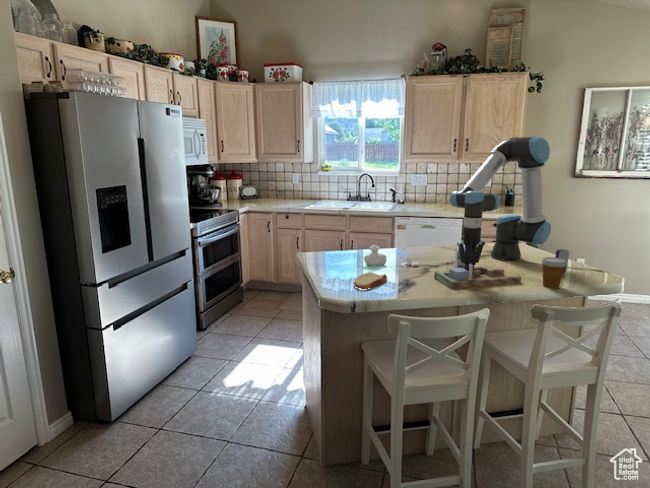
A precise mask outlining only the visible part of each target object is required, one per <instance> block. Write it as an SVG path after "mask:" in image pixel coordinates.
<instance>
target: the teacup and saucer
mask: <svg viewBox="0 0 650 488" xmlns="http://www.w3.org/2000/svg"><path fill="white" fill-rule="evenodd" d="M401 266H404V267H410V268H411V267H417V266H419V263H418V262H413V257H412V256H407V257H405V262H402V263H401Z"/></svg>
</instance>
